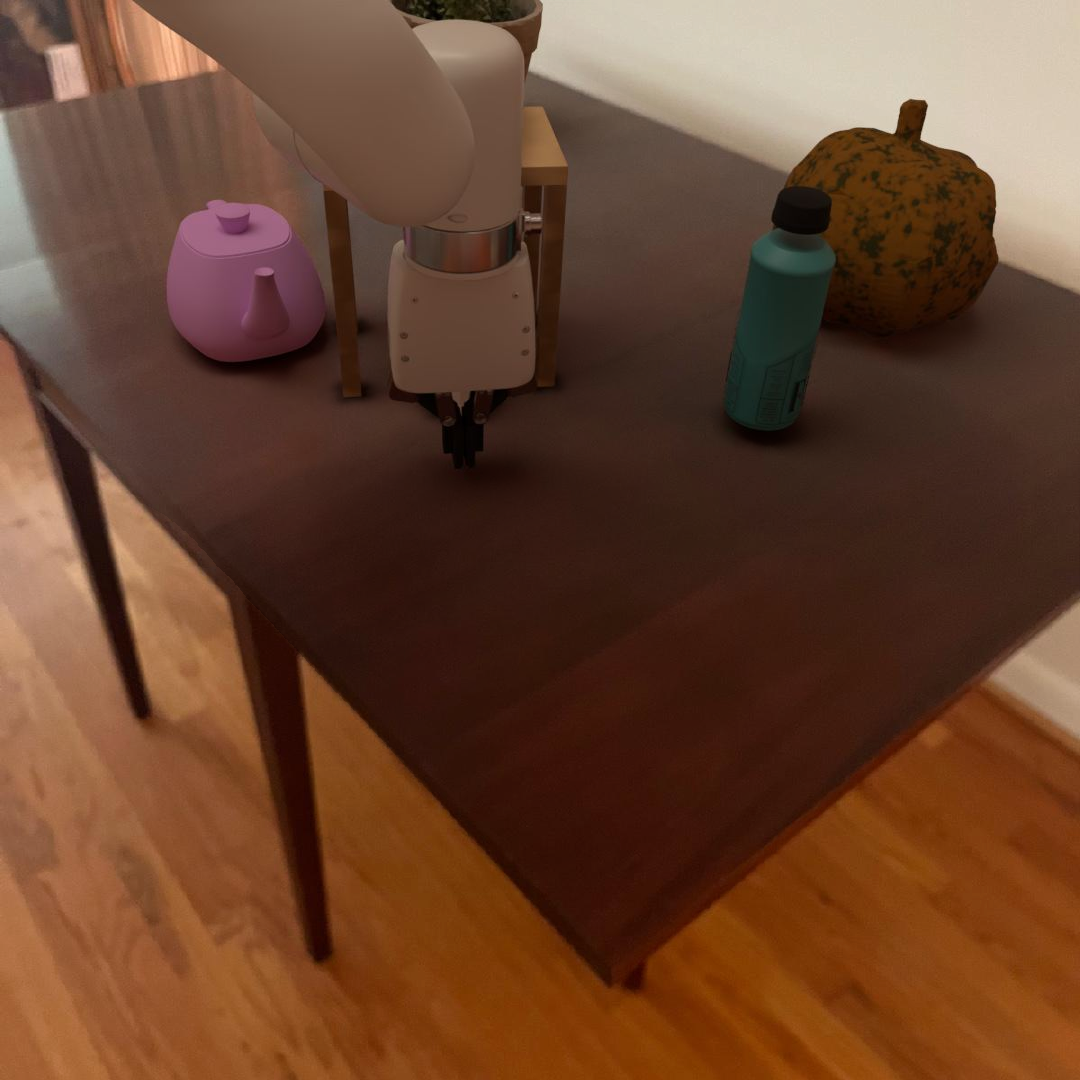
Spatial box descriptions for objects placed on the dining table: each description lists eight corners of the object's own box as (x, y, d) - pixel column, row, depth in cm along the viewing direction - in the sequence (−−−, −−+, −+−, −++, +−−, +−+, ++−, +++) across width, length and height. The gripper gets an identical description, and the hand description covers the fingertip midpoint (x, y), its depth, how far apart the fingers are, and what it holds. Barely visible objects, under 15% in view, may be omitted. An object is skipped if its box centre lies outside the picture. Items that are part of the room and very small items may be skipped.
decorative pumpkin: (791, 360, 94) (848, 129, 82) (740, 266, 110) (781, 63, 98) (1005, 368, 96) (1091, 144, 84) (923, 275, 112) (985, 77, 100)
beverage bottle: (788, 455, 85) (848, 221, 71) (708, 435, 86) (752, 203, 73) (802, 412, 89) (860, 185, 76) (726, 394, 91) (769, 168, 77)
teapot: (155, 300, 98) (128, 178, 90) (294, 274, 103) (279, 156, 95) (208, 414, 85) (181, 284, 77) (363, 379, 90) (353, 252, 82)
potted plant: (370, 118, 134) (355, -108, 117) (503, 101, 140) (507, -115, 123) (419, 174, 122) (411, -68, 105) (563, 153, 128) (576, -78, 111)
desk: (343, 397, 88) (321, 171, 75) (341, 323, 97) (320, 109, 84) (554, 386, 91) (568, 165, 78) (533, 315, 99) (542, 106, 86)
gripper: (564, 205, 72) (550, 423, 84) (343, 211, 70) (362, 434, 82) (585, 256, 66) (567, 481, 79) (346, 265, 64) (366, 495, 76)
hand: (462, 457), depth 80 cm, fingers closed
